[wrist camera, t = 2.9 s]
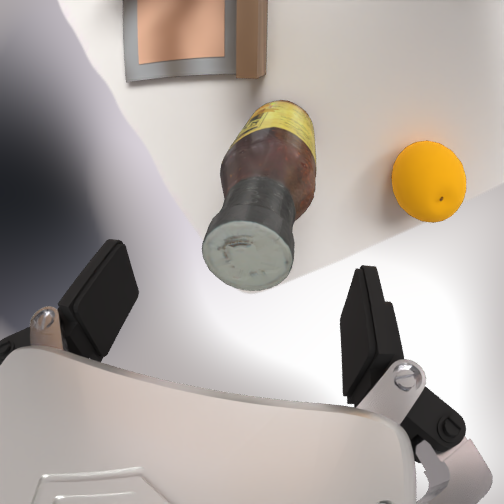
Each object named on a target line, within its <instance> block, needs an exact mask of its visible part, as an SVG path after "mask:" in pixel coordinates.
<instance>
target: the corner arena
mask: <svg viewBox="0 0 504 504" xmlns="http://www.w3.org/2000/svg"><path fill="white" fill-rule="evenodd" d="M267 8H268V0H123V40H124V61H125V76H126V82H131V81H138V80H146V79H154V78H164V77H175V76H188V75H207V74H236V78H252V79H257V78H259V77H261V76H263V75H265V74H266V55H267Z"/></svg>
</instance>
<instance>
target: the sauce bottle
mask: <svg viewBox="0 0 504 504" xmlns="http://www.w3.org/2000/svg"><path fill="white" fill-rule="evenodd" d="M220 177H221V183H222V188H223V193H224V198H225V200H224V204H223V207H222V209H221V210H220V212H219V213H218V214H217V215H216V216H215V217H214V218H213V219H212V221H211V223H210V225H209V227H208V230H207V233H206V235H205V238H204V241H203V245H202V253H203V258H204V260H205V263H206V264H207V266H208V268H209V270H210V271H211V272H212V273H213V274H214V275H215V276H216V277H218V278H219V279H220V280H221V281H223V282H224V283H226V284H227V285H230V286H232V287H234V288H238V289H242V290H249V291H255V290H264V289H269V288H272V287H273V286H276V285H278V284H279V283H281V282H282V281H283V280H284V279H285V278H286V277H287V276H288V274H289V272H290V270H291V268H292V264H293V259H294V239H293V234H292V227H293V224H294V221H295V220H297V219H298V218H299V217H300V216H301V215H302V214H303V213H304V212H305V211H306V210H307V208H308V207H309V206H310V204H311V202H312V200H313V198H314V192H315V185H316V184H315V177H316V153H315V137H314V129H313V124H312V121H311V120H310V118H309V116H308V114H307V113H306V111H304V110H303V109H302V108H301V107H299V106H298V105H296V104H294V103H292V102H290V101H285V100H279V101H274V102H271V103H267V104H265V105H263V106H261V107H260V108H259V109H257V110H256V111H255V113H254V114H253V115H252V117H251V118H250V119H249V121H248V122H247V123H246V125H245V126H244V128H243V129H242V131H241V132H240V133H239V135H238V137H237V138H236V140H235V141H234V142H233V144H232V145H231V147H230V149H229V150H228V152H227V153H226V155H225V157H224V159H223V161H222V164H221V170H220Z"/></svg>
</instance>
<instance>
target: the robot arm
mask: <svg viewBox="0 0 504 504" xmlns="http://www.w3.org/2000/svg"><path fill="white" fill-rule="evenodd" d="M138 294H139V291H138V287H137V284H136V281H135V277H134V274H133V270H132V267H131V264H130V260H129V256H128V253H127V250H126V246H125V245H124V244H123V243H122V241H120V240H113V239H109V240H107V241H106V242H105V243H104V245H103V246H102V247H101V248H100V249H99V251H98V252H97V253H96V254H95V256H94V257H93V258H92V259H91V260H90V262H89V263H88V264H87V266H86V267H85V268H84V270H83V271H82V272H81V273H80V275H79V276H78V277H77V278H76V280H75V281H74V283H73V284H72V285H71V286H70V288H69V289H68V290H67V292H66V293H65V295H64V296H63V297H62V299H61V300H60V301H59V303H58V305H59V308H58V310H57V309H56V308H54V307H48V306H47V307H43V308H41V309H40V310H38V311H37V312H36V313H35V314H34V315H33V316H32V318H31V321H30V327H29V328H26V329H24V330H21V331H19V332H17V333H15V334H12V335H10V336H8V337H6V338H4V339H2V340H1V341H0V504H477V503H478V502H479V500H480V499H481V498H483V497H484V496H485V495H486V493H487V492H488V491H489V489H490V488H491V485H492V474H491V471H490V469H489V468H488V466H487V464H486V463H485V461H484V460H483V458H482V456H481V455H480V453H479V451H478V450H477V448H476V447H475V445H474V444H473V442H472V440H471V439H469V440H467V439H466V437H465V432H466V426H465V422H464V420H463V418H462V417H461V416H460V415H459V414H458V413H457V412H456V411H455V410H453V409H452V408H451V407H450V406H449V405H447V404H446V403H445V402H444V401H442V400H441V399H440V398H439V397H438V396H436V395H435V394H434V393H433V392H432V391H430V390H429V389H428V388H427V387H425V384H426V376H425V373H424V371H423V369H422V368H421V367H420V366H419V365H418V364H417V363H415V362H413V361H411V360H407V359H404V355H403V350H402V345H401V340H400V335H399V331H398V326H397V321H396V317H395V313H394V309H393V305H392V303H391V302H385V300H384V296H383V292H382V288H381V284H380V279H379V275H378V272H377V268H376V267H374V266H364V265H362V266H361V267H360V269H356V270H355V272H354V276H353V279H352V283H351V286H350V289H349V292H348V296H347V299H346V302H345V305H344V308H343V311H342V314H341V318H340V332H341V349H342V350H341V351H342V376H343V377H342V378H343V396H347V403H348V404H354V407H348V406H340V405H330V404H320V403H308V402H297V401H288V400H279V399H270V398H262V397H254V396H247V395H240V394H234V393H227V392H222V391H216V390H210V389H204V388H200V387H195V386H189V385H185V384H180V383H176V382H171V381H167V380H163V379H159V378H154V377H151V376H147V375H143V374H139V373H135V372H132V371H128V370H124V369H121V368H117V367H114V366H110V365H107V364H104V363H101V361H102V359H103V357H105V356H106V355H107V354H108V352H109V350H110V348H111V346H112V344H113V343H114V341H115V338H116V337H117V335H118V333H119V331H120V329H121V327H122V325H123V324H124V322H125V320H126V318H127V316H128V314H129V313H130V311H131V309H132V307H133V305H134V303H135V302H136V300H137V298H138ZM89 358H90V359H89ZM91 359H92V360H91ZM415 461H416V462H418V463H422V465H423V467H424V468H425V470H426V471H424V473H425V475H426V476H427V478H428V481H429V489H428V491H427V493H426V494H425V495H424V496H423V497H422V498H421V499H420V500H419V501H417V502H416V470H415ZM378 502H380V503H378Z"/></svg>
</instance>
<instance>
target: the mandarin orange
mask: <svg viewBox="0 0 504 504" xmlns="http://www.w3.org/2000/svg"><path fill="white" fill-rule="evenodd" d="M391 178H392V187H393V192H394V195H395V197H396V199H397V201H398V204H399V205H400V207H401V208H403V209H404V210H405V211H406V212H407V213H408V214H409V215H410V216H412V217H414V218H416V219H418V220H420V221H425V222H433V223H434V222H440V221H443V220H445V219H447V218H449V217H451V216H452V215H453V214H454V213H455V212H456V211H457V210H458V208H459V207H460V205H461V204H462V202H463V199H464V196H465V192H466V175H465V172H464V168H463V165H462V163H461V161H460V160H459V159H458V158H457V156H456V155H455V154H454V153H453V152H452V151H451V150H450V149H448V148H447V147H445V146H443V145H442V144H440V143H436V142H431V141H420V142H415V143H413V144H411V145H409V146H408V147H406V148H405V149H404V150H403V151H402V152H401V153H400V154H399V155H398V157H397V159H396V161H395V163H394V165H393V171H392V177H391Z"/></svg>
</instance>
